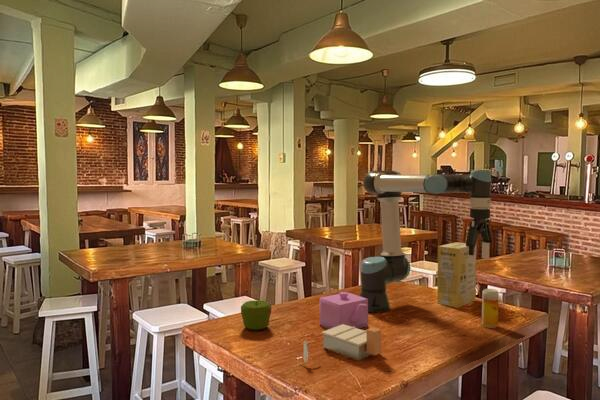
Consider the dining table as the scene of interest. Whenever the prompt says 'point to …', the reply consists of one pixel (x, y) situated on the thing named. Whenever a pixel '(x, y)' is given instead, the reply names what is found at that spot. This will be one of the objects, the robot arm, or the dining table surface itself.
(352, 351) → the grey rectangular box
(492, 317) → the beer can
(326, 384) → the dining table surface
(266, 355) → the dining table surface
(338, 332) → the lid
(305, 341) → the stand
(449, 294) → the pasta box
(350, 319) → the purple knobbed cube
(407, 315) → the dining table surface
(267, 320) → the apple
